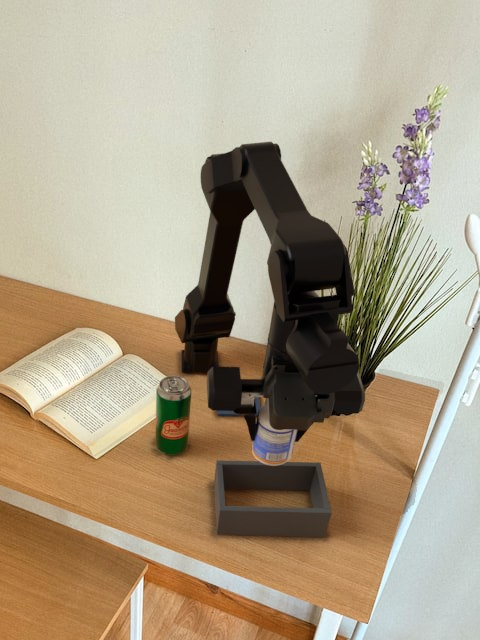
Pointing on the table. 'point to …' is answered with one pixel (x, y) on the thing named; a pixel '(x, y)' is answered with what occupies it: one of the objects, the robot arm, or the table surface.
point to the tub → (271, 518)
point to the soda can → (172, 415)
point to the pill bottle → (272, 440)
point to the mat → (230, 413)
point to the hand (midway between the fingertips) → (273, 439)
